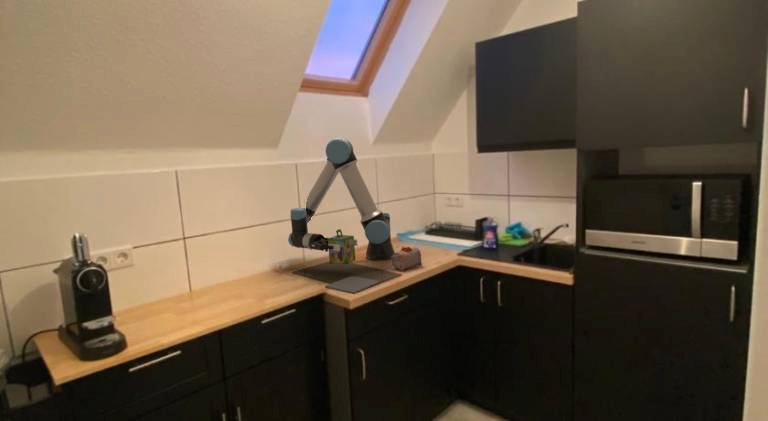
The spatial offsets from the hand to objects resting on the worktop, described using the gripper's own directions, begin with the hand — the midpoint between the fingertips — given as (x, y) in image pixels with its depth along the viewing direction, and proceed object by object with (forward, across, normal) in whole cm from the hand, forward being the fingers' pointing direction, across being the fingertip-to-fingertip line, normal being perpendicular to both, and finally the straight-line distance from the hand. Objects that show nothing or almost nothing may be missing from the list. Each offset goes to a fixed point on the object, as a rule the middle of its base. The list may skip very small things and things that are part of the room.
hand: (348, 245), depth 189 cm
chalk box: (-4, 0, -8) cm, 9 cm away
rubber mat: (+11, +11, -14) cm, 21 cm away
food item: (+15, -22, -14) cm, 31 cm away
